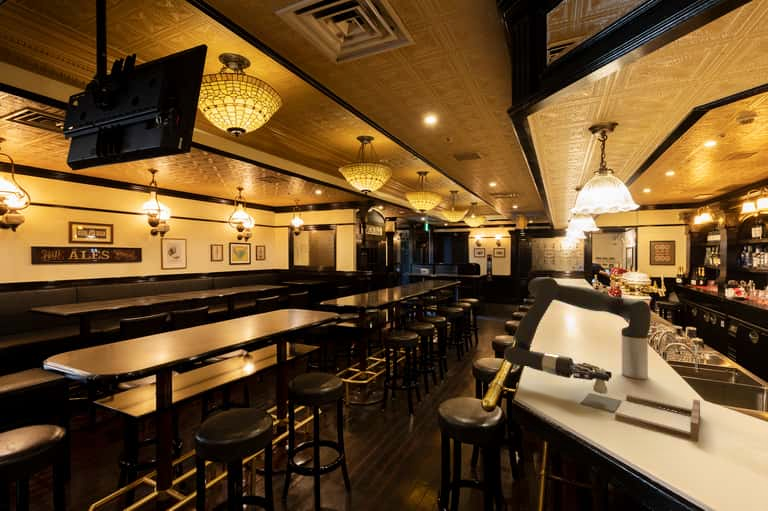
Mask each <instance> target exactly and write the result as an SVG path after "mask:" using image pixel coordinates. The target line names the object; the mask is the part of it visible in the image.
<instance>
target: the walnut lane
mask: <svg viewBox="0 0 768 511" xmlns="http://www.w3.org/2000/svg"><path fill="white" fill-rule="evenodd" d="M625 398H626V399H625V400H626V401H628V402H632V403H637V404H640V405H645V406H649V405H650V407H653V406H655V407H654V408H657V407H661V408H660V409H662V408H665V409H664V410H666V409H669V410H668V411H670V410H674V411H677V412H676V413H678V412H681V413H680V414H682V413H684V415H687V414H689V415H688V416H690V421H689V423H690V424H689V425H690V426H689V427H690V431H688V430H684V429H681V428H676V427H672V426H669V425H665V424H662V423H659V422H654V421H649V420H647V419H644V418H643V419H642V418H639V417H635V416H631V415H628V414H623V413H620V412H616V411H615V414H614V419H615V420H618V421H623V422H625V423H629V424H632V425H633V424H634V425H636V426H637V425H638V426H641V427H644V428H648V429H652V430H655V431H659V432H662V433H665V434H669V435H673V436H676V437H679V438H684V439H687V440H690V441H695V442H699V435H700V434H699V433H700V425H701V424H700V422H701V400H698V399H695V398H694V399H693V400H692V405H691V406H692V407H691V408H692V409H691V408H688V407H687V408H686V407H683V406H679V405H678V406H677V405H673V404H669V403H665V402H661V401H656V400H652V399H647V398H644V397H640V396H639V397H638V396H635V395H630V394H626V396H625ZM674 411H673V412H674Z"/></svg>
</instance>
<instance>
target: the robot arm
mask: <svg viewBox="0 0 768 511" xmlns="http://www.w3.org/2000/svg"><path fill="white" fill-rule="evenodd" d="M527 288H528V292H529V293H530V295H531V296H533V297H534V298H535V299H534V301H533V303H532V305H531V306H530V308H529V309H528V311H526V313H525V314H524V316H523V317H522V318H521V319H520V321H519V324H518V326H517V328H516V330H515V333H514V336H513V337H514V338H513V339H514V341H515V342H514V344H513V345H512V346H508V347H506V348H505V350H504V352H503V357H504V359H505V361H507V362H508V363H509V364H512V365H514V366H516V367H521V366H522V367H527V368H530V369H533V370H535V371H540V372H544V373H546V374H550V375H553V376H554V375H555V376H558V377H562V378H566V379H570V378H572V375H573V379H579V380H580V379H581V380H588V381H593V380H596V379H599V380H604V381H605V382H609V381H610V379H611V378H612V377H613V376H612V372H611V371H607V370H605V372H606V373H605V374H603V373H598V372H597V373H596V372H595V370H596V368H600V367H599V366H595V365H593V364H589V363H587V362H582V363H579V362H578V363H574V361H573V358H571V357H568V356H564V355H558V354H555V353H554V354H553V353H545V352H539V351H533V350H530V349H531V344H532V341H533V339H534V336H535V334H536V332H537V329H538V327H539V325H540V323H541V321H542V319H543V317H544V316H545V314H546V313H547V311H548V309H549V307H550V306H551V304H552V303H553V301H557V302H561V303H563V304H565V305H569V306H573V307H577V308H578V309H579V308H580V309H583V310H587V311H592V312H603V313H609V314H611V315H615V316H619V317H620V318H623V319H625V320H628V325H627V326H625V327H622V328H621V374H622V376H626V377H628V378H631V379H638V380H647V379H648V377H649V375H648V374H649V360H648V359H649V349H648V348H649V347H648V346H649V344H648V342H649V341H648V337H649V336H648V335H649V332H650V329H651V321H652V320H651V318H652V315H651V314H652V312H651V307H650V304H648V302H646V301H645V300H641V299H635V298H628V297H627V298H625V297H618V296H617V297H616V296H612V295H608V294H606V293H605V292H603V291H599V290H597V289H594V288H589V287H585V286H579V285H578V286H577V285H571V284H570V285H566V284H561V283H558V282H557V281H556V279H554V278H553V277H548V276H546V277H545V276H543V277H538V276H537V277H535V278H533V279H531V280H529V283H528V285H527Z"/></svg>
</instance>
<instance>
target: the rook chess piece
mask: <svg viewBox="0 0 768 511" xmlns="http://www.w3.org/2000/svg"><path fill="white" fill-rule="evenodd" d="M594 371H595V372H596V373H597V372H598V373H603V374H605V373H606V372H605V371H606V370H605V369H604V368H600V367H599V368H596V370H594ZM592 390H593V392H596V394H600V395H601V394H604V395H605V394H607V393H608V392H609V391H608V386H607V384H606V381H604V380H599V379H595V383H594V384H593V389H592Z"/></svg>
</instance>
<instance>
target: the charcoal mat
mask: <svg viewBox="0 0 768 511" xmlns="http://www.w3.org/2000/svg"><path fill="white" fill-rule="evenodd" d="M621 403H622V400H621V399H617V398H613V397H609V396H604V395H601V394H598V393H592V392H589V393H588V394H587V395H586V396H585V397H584V398H583V399H582V401H581V402H580V404H581V405H583V406H588V407H590V408H595V409H598V410H602V411H606V412H610V413H613V414H614V413H616V411H617V409H618V408H619V407H620V405H621Z"/></svg>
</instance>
